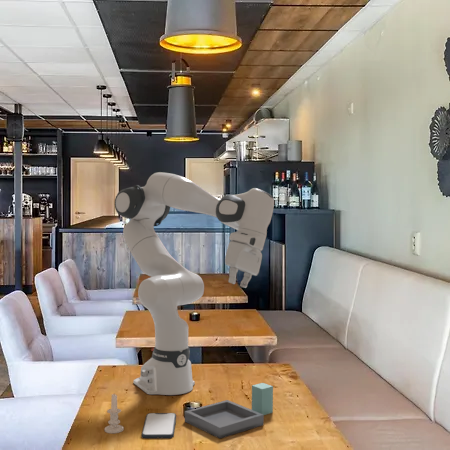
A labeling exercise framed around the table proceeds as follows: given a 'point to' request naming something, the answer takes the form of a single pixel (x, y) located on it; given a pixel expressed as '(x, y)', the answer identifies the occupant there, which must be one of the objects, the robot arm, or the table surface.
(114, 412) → the candle
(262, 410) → the sage block
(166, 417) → the smartphone
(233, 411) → the charcoal tray
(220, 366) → the table surface
